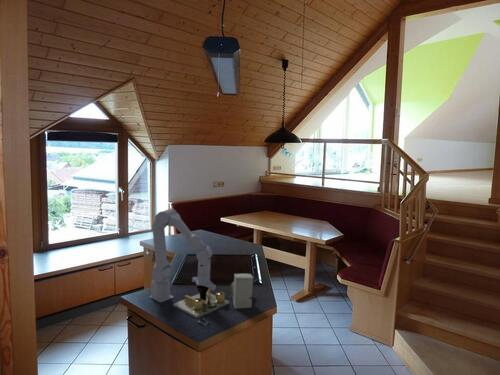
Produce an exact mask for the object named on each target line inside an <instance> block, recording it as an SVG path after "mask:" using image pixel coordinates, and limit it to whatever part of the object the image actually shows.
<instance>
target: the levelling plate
mask: <svg viewBox="0 0 500 375" xmlns="http://www.w3.org/2000/svg"><path fill="white" fill-rule="evenodd" d="M191 297H192V298H194V299H195V298H200V293H197V294H194V295H192V296H191ZM227 305H230V300H227V299H226V293H225V292H224V291H217V292H216V293H215V294H212V293H210V303H207V300H206V299H205V300H204V301H203V309H201V310H195V309H193V306H191V305H189V304H187V303H185V300H184V299H182V300H180V301H177V302H174V303H172V307H174V309H175V308H176V309H177V310H180V311H182V312H184V313H186V314H188V315H189V316H191V317H194V318H195V319H199V318H201V317H203V316H205V315H208V314H210V313H212V312H214V311H216V310H219V309H221V308H223V307H225V306H227Z"/></svg>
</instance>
